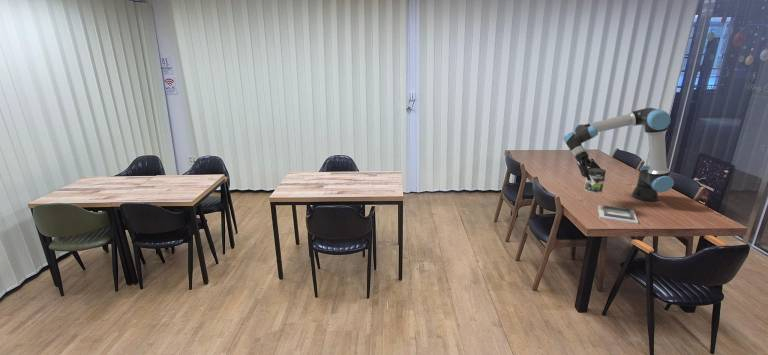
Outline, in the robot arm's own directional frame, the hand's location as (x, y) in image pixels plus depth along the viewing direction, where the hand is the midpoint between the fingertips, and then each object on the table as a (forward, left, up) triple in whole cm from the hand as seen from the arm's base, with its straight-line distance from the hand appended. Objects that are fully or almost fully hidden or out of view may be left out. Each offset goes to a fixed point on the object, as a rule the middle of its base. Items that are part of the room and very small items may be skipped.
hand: (599, 182), depth 230 cm
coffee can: (+2, -2, -6) cm, 7 cm away
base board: (-12, +3, -19) cm, 23 cm away
